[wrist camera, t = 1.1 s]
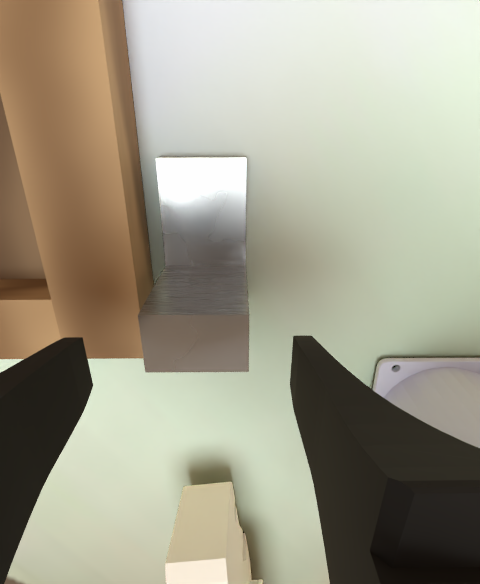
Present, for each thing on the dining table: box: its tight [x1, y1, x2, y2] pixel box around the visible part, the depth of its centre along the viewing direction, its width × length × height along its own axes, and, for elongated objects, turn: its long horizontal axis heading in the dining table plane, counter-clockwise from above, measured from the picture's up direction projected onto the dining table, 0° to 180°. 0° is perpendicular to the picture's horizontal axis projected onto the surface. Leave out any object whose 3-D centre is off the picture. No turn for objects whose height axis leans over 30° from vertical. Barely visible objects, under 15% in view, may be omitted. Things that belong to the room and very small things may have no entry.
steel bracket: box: [138, 157, 249, 372], centre depth 15 cm, size 4×8×6 cm, turn 0°
